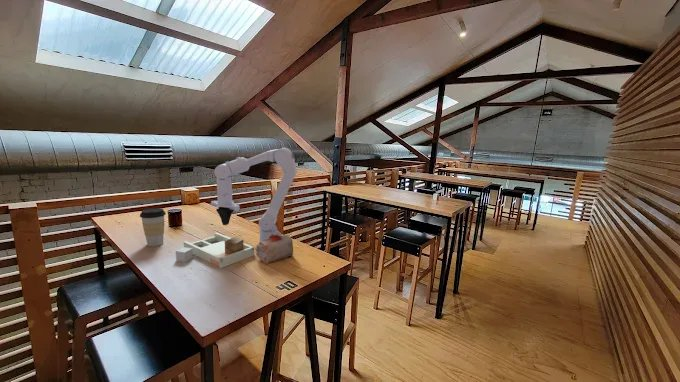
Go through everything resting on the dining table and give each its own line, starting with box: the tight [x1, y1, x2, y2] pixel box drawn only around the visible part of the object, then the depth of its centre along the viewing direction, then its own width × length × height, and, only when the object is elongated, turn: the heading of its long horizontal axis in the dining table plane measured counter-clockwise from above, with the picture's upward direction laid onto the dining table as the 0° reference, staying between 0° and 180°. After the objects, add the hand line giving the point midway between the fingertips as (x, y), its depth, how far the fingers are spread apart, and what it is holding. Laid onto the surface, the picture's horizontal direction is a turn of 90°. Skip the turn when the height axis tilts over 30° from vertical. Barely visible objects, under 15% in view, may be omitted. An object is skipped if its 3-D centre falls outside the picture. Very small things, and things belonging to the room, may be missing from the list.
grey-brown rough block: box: [255, 234, 294, 265], centre depth 118 cm, size 14×8×10 cm, turn 135°
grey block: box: [175, 246, 194, 263], centre depth 114 cm, size 4×4×4 cm
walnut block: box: [225, 237, 244, 255], centre depth 117 cm, size 5×5×5 cm
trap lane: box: [183, 232, 255, 269], centre depth 122 cm, size 26×15×4 cm, turn 55°
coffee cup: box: [139, 207, 167, 247], centre depth 126 cm, size 9×9×15 cm
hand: (225, 224), depth 125 cm, fingers closed
